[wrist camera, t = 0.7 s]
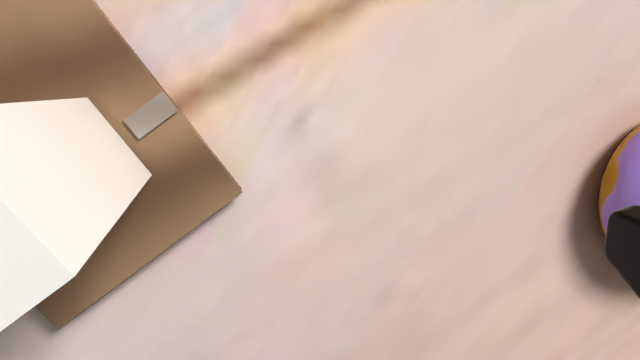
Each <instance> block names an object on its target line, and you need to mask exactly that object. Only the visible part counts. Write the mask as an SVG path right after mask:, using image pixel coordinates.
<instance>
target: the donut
mask: <svg viewBox="0 0 640 360" xmlns="http://www.w3.org/2000/svg"><path fill="white" fill-rule="evenodd" d="M598 203H599V216H600V222H601V225H602V229H603V231H604V233H605V235H606V230H607V222H608V217H609V215H610V214H611V213H612V212H613V211H616V210H618V209H621V208H624V207H627V206H630V205H638V206H640V125H639V126H638V127H636V128H635V129H634V130H633V131H632V132H630V133H629V134H628V135H627V136H626V138H625V139H624V140H623V141H622V142H621V143H620V145H619V146H618V147H617V149H616V150H615V152H614V154H613V155H612V157H611V159H610V160H609V163H608V165H607V167H606V170H605V172H604V175H603V177H602V181H601V186H600V194H599V202H598Z"/></svg>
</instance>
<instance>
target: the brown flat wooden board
mask: <svg viewBox="0 0 640 360" xmlns="http://www.w3.org/2000/svg"><path fill="white" fill-rule="evenodd" d="M86 97H87V98H88V99H89V100H90V101H91V102H92V104H93V105H94V106H95V107H96V108H97V110H98V111H99V112H100V113H101V114H102V116H103V117H104V118H105V119H106V120H107V122H108V123H109V124H110V125H111V126H112V127H113V129H114V130H115V131H116V132H117V133H118V135H119V136H120V137H121V138H122V139H123V141H124V142H125V143H126V144H127V145H128V147H129V148H130V149H131V150H132V151H133V153H134V154H135V155H136V156H137V157H138V159H139V160H140V161H141V162H142V163H143V165H144V166H145V167H146V168H147V169H148V171H149V172H150V173H151V174H152V175H151V177H150V178H149V179H148V181H147V182H146V183H145V185H144V186H143V187H142V189H141V190H140V191H139V193H138V194H137V195H136V197H135V198H134V199H133V200H132V202H131V203H130V204H129V206H128V207H127V208H126V210H125V211H124V212H123V214H122V215H121V216H120V218H119V219H118V220H117V222H116V223H115V224H114V225H113V227H112V228H111V229H110V231H109V232H108V233H107V235H106V236H105V237H104V239H103V240H102V241H101V243H100V244H99V245H98V247H97V248H96V249H95V250H94V252H93V253H92V254H91V256H90V257H89V258H88V260H87V261H86V262H85V264H84V265H83V266H82V268H81V269H80V270H79V272H78V273H77V274H76V275H75V277H74V278H72V279H71V280H69V281H68V282H67V283H65V284H64V285H63V286H61V287H60V288H59V289H57V290H56V291H55V292H53V293H52V294H51V295H49V296H48V297H46V298H45V299H44V300H42V301H41V302H40V303H38V304H37V305H36V306H35V307H36V308H37V309H38V310H39V311H40V312H41V313H42V314H43V315H44V316H45V317H46V318H47V319H48V320H49V321H50V322H51V323H52V324H53V325H54V326H55V327H56V328H57V329H60V328H61V327H62V326H64V325H65V324H66V323H68V322H69V321H70V320H72V319H73V318H74V317H76V316H77V315H78V314H80V313H81V312H82V311H84V310H85V309H86V308H88V307H89V306H90V305H92V304H93V303H95V302H96V301H97V300H99V299H100V298H101V297H103V296H104V295H105V294H107V293H108V292H109V291H111V290H112V289H113V288H115V287H116V286H117V285H119V284H120V283H121V282H123V281H124V280H125V279H127V278H128V277H129V276H131V275H132V274H133V273H135V272H136V271H138V270H139V269H140V268H142V267H143V266H144V265H146V264H147V263H148V262H150V261H151V260H152V259H154V258H155V257H156V256H158V255H159V254H160V253H162V252H163V251H164V250H166V249H167V248H168V247H170V246H171V245H172V244H174V243H175V242H176V241H178V240H179V239H181V238H182V237H183V236H185V235H186V234H187V233H189V232H190V231H191V230H193V229H194V228H195V227H197V226H198V225H199V224H201V223H202V222H203V221H205V220H206V219H207V218H209V217H210V216H211V215H213V214H214V213H215V212H217V211H218V210H219V209H221V208H222V207H224V206H225V205H226V204H228V203H229V202H230V201H232V200H233V199H234V198H236V197H237V196H238V195H240V194H241V193H242V190H241V187H240V186H239V185H238V184H237V182H236V181H235V180H234V179H233V177H232V176H231V175H230V173H229V172H228V171H227V170H226V168H225V167H224V166H223V165H222V163H221V162H220V161H219V159H218V158H217V157H216V156H215V154H214V153H213V152H212V150H211V149H210V148H209V147H208V145H207V144H206V143H205V142H204V140H203V139H202V138H201V136H200V135H199V134H198V133H197V131H196V130H195V129H194V128H193V126H192V125H191V124H190V122H189V121H188V120H187V119H186V117H185V116H184V115H183V114H182V112H181V111H180V110H179V108H178V107H177V106H176V105H175V103H174V102H173V101H172V99H171V98H170V97H169V96H168V94H167V93H166V92H165V91H164V89H163V88H162V87H161V85H160V84H159V83H158V82H157V80H156V79H155V78H154V77H153V75H152V74H151V73H150V71H149V70H148V69H147V68H146V66H145V65H144V64H143V63H142V61H141V60H140V59H139V57H138V56H137V55H136V54H135V52H134V51H133V50H132V49H131V47H130V46H129V45H128V43H127V42H126V41H125V40H124V38H123V37H122V36H121V34H120V33H119V32H118V31H117V29H116V28H115V27H114V26H113V24H112V23H111V22H110V20H109V19H108V18H107V17H106V15H105V14H104V13H103V12H102V10H101V9H100V8H99V6H98V5H97V4H96V3H95V1H94V0H0V104H3V103H17V102H30V101H44V100H58V99H72V98H86Z"/></svg>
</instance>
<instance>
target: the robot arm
mask: <svg viewBox="0 0 640 360" xmlns="http://www.w3.org/2000/svg"><path fill="white" fill-rule="evenodd" d="M604 250H605V254H606V256H607V258H608V260H609V262H610V263H611V264H612V265H613V267H614V268H615V269H616V270H617V271H618V273H619V274H620V275H621V276H622V278H623V279H624V280H625V281H626V282H627V284H628V285H629V286H630V287H631V289H632V290H633V291H634V292H635V293H636V295H637V296H638V297H639V298H640V206H638V205H630V206H627V207H624V208H621V209H618V210H616V211H613V212H612V213H611V214H610V215H609V217H608V222H607V230H606V237H605V245H604Z"/></svg>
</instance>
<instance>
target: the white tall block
mask: <svg viewBox="0 0 640 360" xmlns="http://www.w3.org/2000/svg"><path fill="white" fill-rule="evenodd" d="M151 175H152V174H151V173H150V172H149V171H148V169H147V168H146V167H145V166H144V165H143V163H142V162H141V161H140V160H139V159H138V157H137V156H136V155H135V154H134V153H133V151H132V150H131V149H130V148H129V147H128V145H127V144H126V143H125V142H124V141H123V139H122V138H121V137H120V136H119V135H118V133H117V132H116V131H115V130H114V129H113V127H112V126H111V125H110V124H109V123H108V122H107V120H106V119H105V118H104V117H103V116H102V114H101V113H100V112H99V111H98V110H97V108H96V107H95V106H94V105H93V104H92V102H91V101H90V100H89V99H88V98H87V97H86V98H72V99H58V100H44V101H30V102H17V103H3V104H0V331H2V330H3V329H5V328H6V327H7V326H9V325H10V324H11V323H13V322H14V321H15V320H17V319H18V318H19V317H21V316H22V315H23V314H25V313H26V312H28V311H29V310H30V309H32V308H33V307H34V306H36V305H37V304H38V303H40V302H41V301H42V300H44V299H45V298H46V297H48V296H49V295H51V294H52V293H53V292H55V291H56V290H57V289H59V288H60V287H61V286H63V285H64V284H65V283H67V282H68V281H69V280H71V279H72V278H74V277H75V275H76V274H77V273H78V272H79V270H80V269H81V268H82V266H83V265H84V264H85V262H86V261H87V260H88V258H89V257H90V256H91V254H92V253H93V252H94V250H95V249H96V248H97V247H98V245H99V244H100V243H101V241H102V240H103V239H104V237H105V236H106V235H107V233H108V232H109V231H110V229H111V228H112V227H113V225H114V224H115V223H116V222H117V220H118V219H119V218H120V216H121V215H122V214H123V212H124V211H125V210H126V208H127V207H128V206H129V204H130V203H131V202H132V200H133V199H134V198H135V197H136V195H137V194H138V193H139V191H140V190H141V189H142V187H143V186H144V185H145V183H146V182H147V181H148V179H149V178H150V177H151Z"/></svg>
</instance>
